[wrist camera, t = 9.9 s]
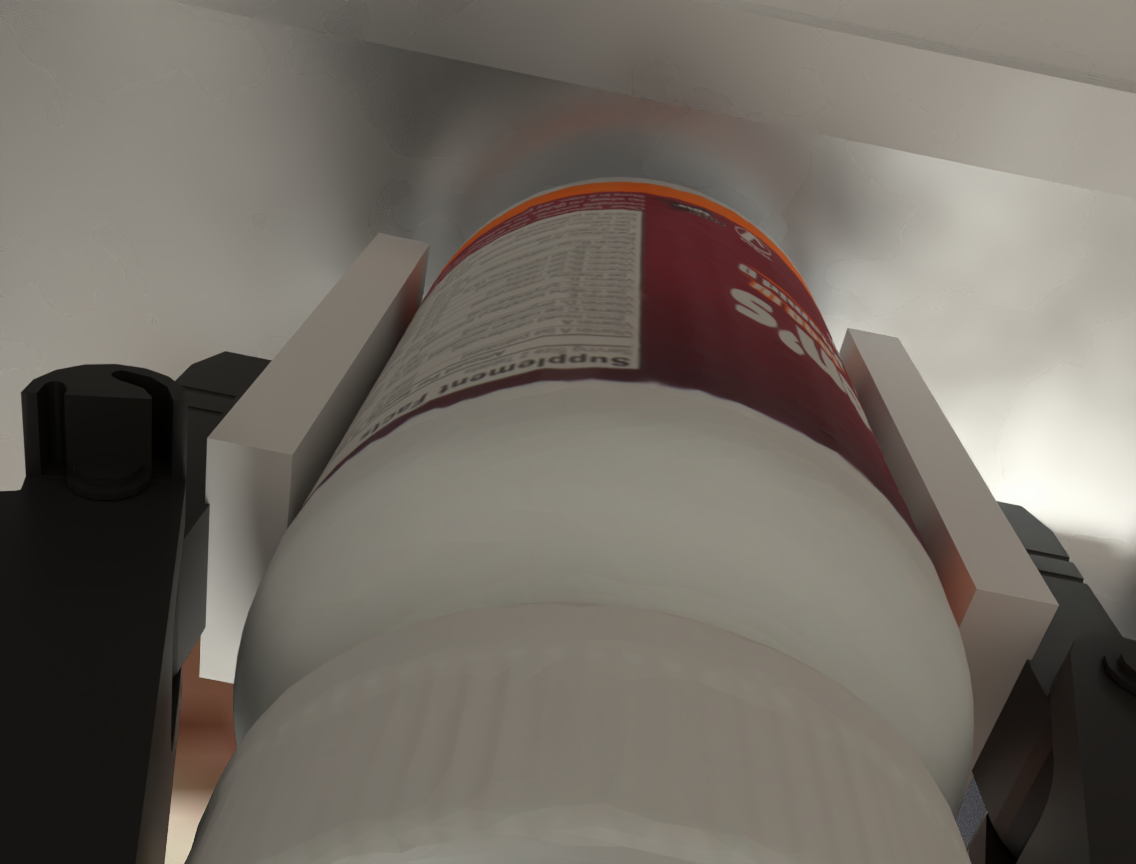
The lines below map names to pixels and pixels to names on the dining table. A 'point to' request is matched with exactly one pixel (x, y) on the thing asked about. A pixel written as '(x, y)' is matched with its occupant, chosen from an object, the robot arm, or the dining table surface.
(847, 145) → the white shallow tray
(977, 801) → the dining table surface
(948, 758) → the pill bottle
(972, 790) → the dining table surface
